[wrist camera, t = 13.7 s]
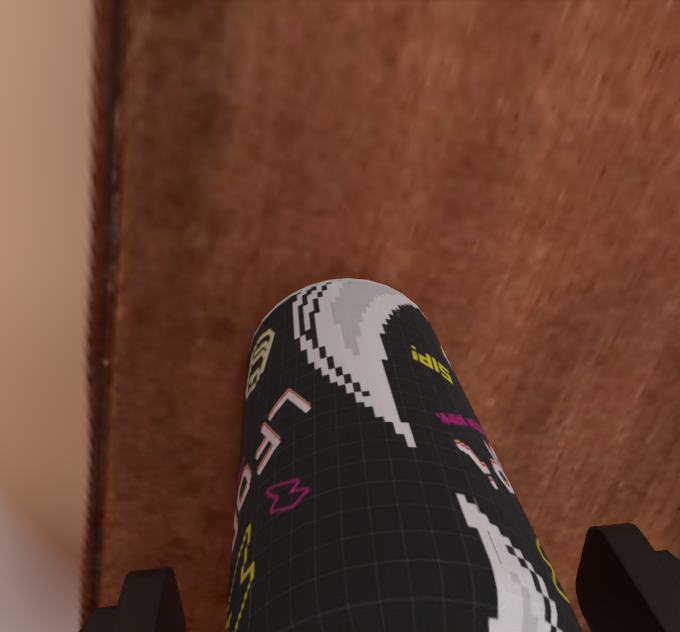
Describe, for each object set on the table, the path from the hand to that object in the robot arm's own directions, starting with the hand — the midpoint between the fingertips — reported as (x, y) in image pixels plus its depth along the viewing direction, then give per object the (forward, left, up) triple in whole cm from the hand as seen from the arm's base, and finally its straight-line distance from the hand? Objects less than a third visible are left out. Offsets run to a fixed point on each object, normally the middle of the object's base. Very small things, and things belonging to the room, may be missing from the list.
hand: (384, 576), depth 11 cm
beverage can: (0, 0, -8) cm, 8 cm away
